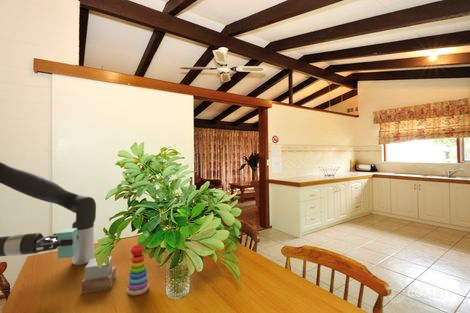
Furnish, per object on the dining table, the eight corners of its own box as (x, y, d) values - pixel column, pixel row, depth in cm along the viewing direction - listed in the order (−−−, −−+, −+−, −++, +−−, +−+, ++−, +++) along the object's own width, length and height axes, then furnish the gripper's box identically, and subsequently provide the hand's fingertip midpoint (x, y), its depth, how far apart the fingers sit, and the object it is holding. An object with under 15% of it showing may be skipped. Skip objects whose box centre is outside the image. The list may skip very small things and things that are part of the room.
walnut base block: (90, 280, 98) (90, 269, 98) (115, 277, 101) (115, 266, 101) (81, 294, 89) (81, 281, 89) (110, 290, 92) (110, 277, 92)
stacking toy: (153, 288, 92) (152, 242, 92) (135, 299, 85) (135, 249, 85) (140, 282, 96) (140, 238, 96) (122, 292, 89) (122, 245, 89)
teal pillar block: (63, 253, 93) (63, 229, 93) (77, 252, 95) (77, 228, 94) (57, 258, 88) (57, 233, 88) (72, 257, 90) (72, 231, 90)
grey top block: (90, 270, 97) (90, 258, 97) (111, 267, 100) (111, 256, 100) (85, 280, 90) (85, 267, 90) (108, 276, 92) (107, 264, 92)
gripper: (12, 241, 81) (68, 236, 85) (34, 228, 94) (82, 225, 99) (12, 262, 81) (68, 256, 85) (35, 246, 94) (82, 242, 99)
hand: (75, 239), depth 92 cm, fingers closed on teal pillar block, 5 cm apart
